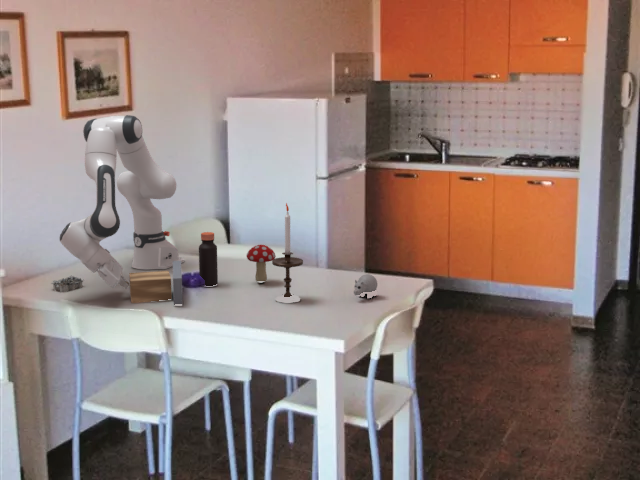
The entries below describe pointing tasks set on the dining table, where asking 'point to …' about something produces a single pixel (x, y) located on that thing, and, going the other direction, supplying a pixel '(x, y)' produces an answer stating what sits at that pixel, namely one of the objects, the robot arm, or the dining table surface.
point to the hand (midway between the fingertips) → (128, 286)
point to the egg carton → (67, 284)
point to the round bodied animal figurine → (365, 284)
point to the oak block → (150, 286)
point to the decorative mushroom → (261, 260)
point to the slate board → (177, 282)
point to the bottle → (208, 259)
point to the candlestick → (287, 256)
